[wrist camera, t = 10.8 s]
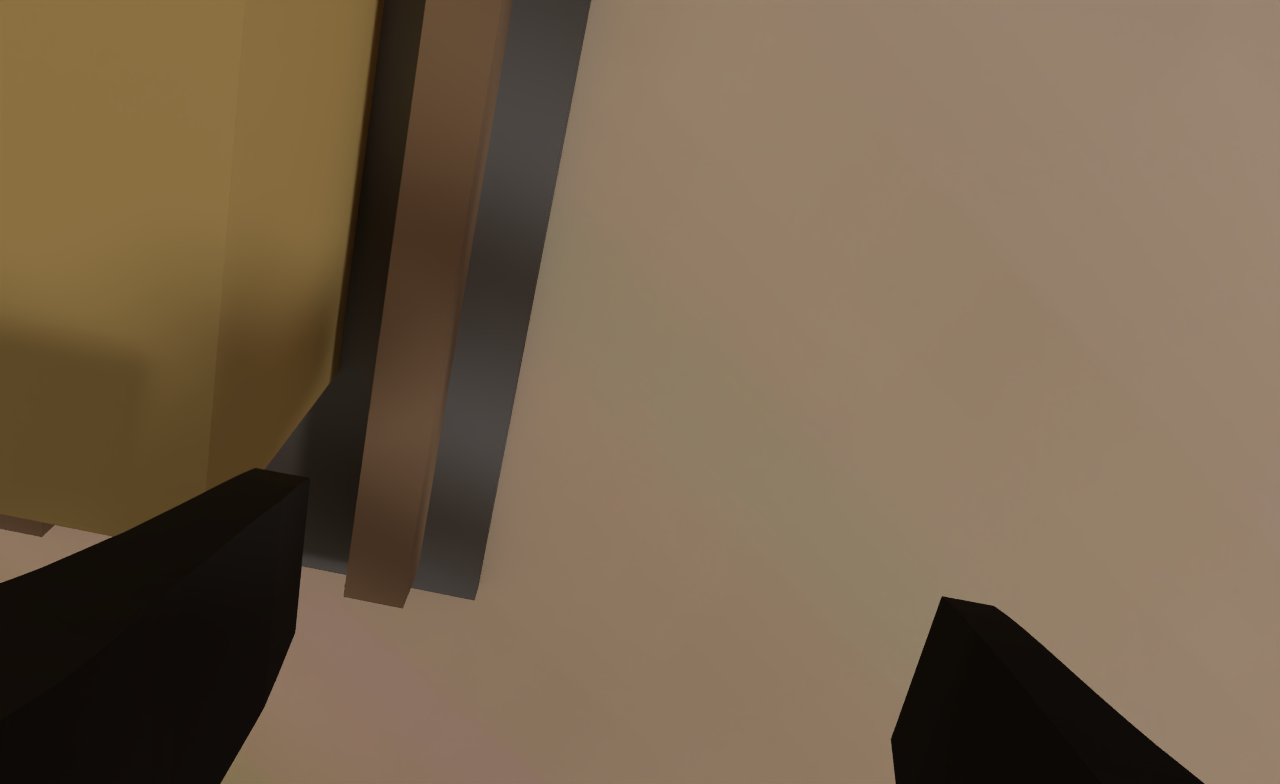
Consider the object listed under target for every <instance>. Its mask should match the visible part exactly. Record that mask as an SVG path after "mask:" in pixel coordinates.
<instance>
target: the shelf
mask: <svg viewBox="0 0 1280 784" xmlns="http://www.w3.org/2000/svg"><path fill="white" fill-rule="evenodd" d="M590 3H591V0H385V1H384V9H383V17H382V25H381V33H380V41H379V49H378V57H377V65H376V73H375V81H374V89H373V97H372V105H371V113H370V121H369V128H368V136H367V144H366V152H365V160H364V168H363V176H362V184H361V192H360V200H359V208H358V216H357V224H356V232H355V240H354V248H353V256H352V264H351V272H350V280H349V288H348V296H347V304H346V311H345V319H344V327H343V335H342V343H341V351H340V359H339V367H338V373H337V374H336V375H335V377H334V378H333V379H332V381H331V382H330V383H329V385H328V386H327V387H326V389H325V390H324V391H323V393H322V394H321V395H320V397H319V398H318V399H317V401H316V402H315V403H314V405H313V406H312V407H311V408H310V410H309V411H308V412H307V414H306V415H305V416H304V418H303V419H302V420H301V422H300V423H299V424H298V426H297V427H296V428H295V430H294V431H293V432H292V434H291V435H290V436H289V438H288V439H287V440H286V442H285V443H284V444H283V446H282V447H281V448H280V450H279V451H278V452H277V454H276V455H275V456H274V458H273V459H272V460H271V462H270V463H269V464H268V466H267V467H266V468H265V470H270V471H275V472H280V473H286V474H291V475H296V476H302V477H307V478H310V486H309V496H308V506H307V517H306V527H305V537H304V547H303V557H302V566H304V567H309V568H314V569H319V570H324V571H329V572H334V573H339V574H344V575H347V576H346V583H345V590H344V597H348V598H353V599H358V600H363V601H368V602H373V603H378V604H383V605H388V606H393V607H398V608H403V606H404V604H405V601H406V599H407V596H408V594H409V591H410V589H411V588H415V589H420V590H425V591H430V592H435V593H440V594H445V595H450V596H455V597H460V598H465V599H470V600H475V596H476V593H477V590H478V585H479V580H480V575H481V570H482V564H483V559H484V554H485V549H486V544H487V538H488V533H489V528H490V523H491V518H492V512H493V507H494V502H495V497H496V492H497V486H498V481H499V476H500V471H501V466H502V460H503V455H504V450H505V445H506V440H507V434H508V429H509V424H510V419H511V414H512V408H513V403H514V398H515V393H516V388H517V382H518V377H519V372H520V367H521V362H522V357H523V351H524V346H525V341H526V336H527V331H528V325H529V320H530V315H531V310H532V305H533V299H534V294H535V289H536V284H537V279H538V273H539V268H540V263H541V258H542V253H543V247H544V242H545V237H546V232H547V227H548V221H549V216H550V211H551V206H552V201H553V195H554V190H555V185H556V180H557V175H558V169H559V164H560V159H561V154H562V149H563V143H564V138H565V133H566V128H567V123H568V117H569V112H570V107H571V102H572V97H573V91H574V86H575V81H576V76H577V71H578V65H579V60H580V55H581V50H582V45H583V39H584V34H585V29H586V24H587V19H588V13H589V8H590ZM53 526H54V525H53V524H48V523H43V522H38V521H33V520H28V519H23V518H18V517H13V516H8V515H3V514H0V529H4V530H9V531H14V532H19V533H24V534H29V535H34V536H39V537H42V536H44V535H45V534H46V533H47V532H48V531H49V530H50V529H51V528H52V527H53Z"/></svg>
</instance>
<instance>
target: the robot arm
mask: <svg viewBox="0 0 1280 784" xmlns="http://www.w3.org/2000/svg"><path fill="white" fill-rule="evenodd" d="M309 486H310V478H307V477H302V476H296V475H291V474H286V473H280V472H275V471H270V470H264V469H259V468H254V469H251V470H249V471H246V472H244V473H242V474H240V475H238V476H235V477H233V478H231V479H229V480H227V481H225V482H223V483H221V484H219V485H217V486H215V487H213V488H211V489H209V490H207V491H206V492H204V493H202V494H200V495H198V496H196V497H194V498H192V499H190V500H188V501H186V502H184V503H182V504H180V505H178V506H176V507H174V508H172V509H170V510H168V511H166V512H164V513H162V514H160V515H158V516H156V517H154V518H152V519H150V520H148V521H146V522H144V523H141V524H139V525H137V526H135V527H133V528H131V529H129V530H127V531H125V532H123V533H121V534H118V535H116V536H114V537H112V538H109V539H107V540H105V541H102V542H100V543H98V544H95V545H93V546H91V547H88V548H86V549H84V550H82V551H79V552H77V553H75V554H72V555H70V556H68V557H65V558H63V559H61V560H59V561H56V562H54V563H52V564H49V565H47V566H45V567H42V568H40V569H37V570H34V571H32V572H29V573H27V574H24V575H21V576H19V577H16V578H13V579H11V580H8V581H5V582H2V583H0V784H220V783H221V782H222V780H223V778H224V776H225V775H226V773H227V771H228V770H229V768H230V766H231V764H232V763H233V761H234V759H235V758H236V756H237V754H238V752H239V751H240V749H241V747H242V745H243V744H244V742H245V740H246V739H247V737H248V735H249V733H250V732H251V730H252V728H253V726H254V725H255V723H256V721H257V719H258V718H259V716H260V714H261V712H262V710H263V709H264V707H265V704H266V702H267V700H268V697H269V695H270V693H271V690H272V688H273V685H274V683H275V681H276V678H277V676H278V674H279V671H280V669H281V666H282V664H283V661H284V659H285V656H286V654H287V651H288V649H289V647H290V644H291V642H292V639H293V637H294V634H295V629H296V619H297V609H298V598H299V588H300V578H301V568H302V557H303V547H304V537H305V527H306V517H307V506H308V496H309ZM891 744H892V753H893V762H894V771H895V780H896V784H1204V783H1203V782H1202V781H1201V780H1199V779H1198V778H1197V777H1196V776H1194V775H1193V774H1192V773H1191V772H1189V771H1188V770H1187V769H1186V768H1184V767H1183V766H1182V765H1181V764H1179V763H1178V762H1177V761H1176V760H1174V759H1173V758H1172V757H1171V756H1169V755H1168V754H1167V753H1166V752H1164V751H1163V750H1162V749H1161V748H1159V747H1158V746H1157V745H1156V744H1154V743H1153V742H1152V741H1151V740H1150V739H1149V738H1147V737H1146V736H1145V735H1144V734H1143V733H1141V732H1140V731H1139V730H1138V729H1137V728H1135V727H1134V726H1133V725H1132V724H1131V723H1130V722H1128V721H1127V720H1126V719H1125V718H1124V717H1123V716H1122V715H1120V714H1119V713H1118V712H1117V711H1116V710H1115V709H1113V708H1112V707H1111V706H1110V705H1109V704H1108V703H1107V702H1106V701H1104V700H1103V699H1102V698H1101V697H1100V696H1099V695H1098V694H1096V693H1095V692H1094V691H1093V690H1092V689H1091V688H1090V687H1089V686H1087V685H1086V684H1085V683H1084V682H1083V681H1082V680H1081V679H1080V678H1079V677H1077V676H1076V675H1075V674H1074V673H1073V672H1072V671H1071V670H1070V669H1068V668H1067V667H1066V666H1065V665H1064V664H1063V663H1062V662H1061V661H1060V660H1058V659H1057V658H1056V657H1055V656H1054V655H1053V654H1052V653H1051V652H1050V651H1048V650H1047V649H1046V648H1045V647H1044V646H1043V645H1042V644H1041V643H1039V642H1038V641H1037V640H1036V639H1035V638H1034V637H1032V636H1031V635H1030V634H1029V633H1028V632H1027V631H1026V630H1024V629H1023V628H1022V627H1021V626H1020V625H1018V624H1017V623H1016V622H1015V621H1013V620H1012V619H1011V618H1010V617H1008V616H1007V615H1006V614H1004V613H1003V612H1002V611H1000V610H999V609H997V608H996V607H995V606H991V605H986V604H980V603H975V602H970V601H964V600H959V599H954V598H948V597H943V596H942V598H941V600H940V603H939V606H938V609H937V612H936V614H935V617H934V620H933V623H932V626H931V628H930V631H929V634H928V637H927V640H926V642H925V645H924V648H923V651H922V654H921V656H920V659H919V662H918V665H917V668H916V670H915V673H914V676H913V679H912V682H911V684H910V687H909V690H908V693H907V696H906V698H905V701H904V704H903V707H902V710H901V712H900V715H899V718H898V721H897V724H896V726H895V729H894V732H893V735H892V738H891Z"/></svg>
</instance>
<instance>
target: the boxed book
mask: <svg viewBox="0 0 1280 784" xmlns="http://www.w3.org/2000/svg"><path fill="white" fill-rule="evenodd" d="M384 1H385V0H0V514H3V515H8V516H13V517H18V518H23V519H28V520H33V521H38V522H43V523H48V524H53V525H58V526H63V527H68V528H73V529H78V530H83V531H88V532H93V533H98V534H103V535H108V536H113V537H114V536H116V535H118V534H121V533H123V532H125V531H127V530H129V529H131V528H133V527H135V526H137V525H139V524H141V523H144V522H146V521H148V520H150V519H152V518H154V517H156V516H158V515H160V514H162V513H164V512H166V511H168V510H170V509H172V508H174V507H176V506H178V505H180V504H182V503H184V502H186V501H188V500H190V499H192V498H194V497H196V496H198V495H200V494H202V493H204V492H206V491H207V490H209V489H211V488H213V487H215V486H217V485H219V484H221V483H223V482H225V481H227V480H229V479H231V478H233V477H235V476H238V475H240V474H242V473H244V472H246V471H249V470H251V469H254V468H259V469H264V470H265V468H266V467H267V466H268V464H269V463H270V462H271V460H272V459H273V458H274V456H275V455H276V454H277V452H278V451H279V450H280V448H281V447H282V446H283V444H284V443H285V442H286V440H287V439H288V438H289V436H290V435H291V434H292V432H293V431H294V430H295V428H296V427H297V426H298V424H299V423H300V422H301V420H302V419H303V418H304V416H305V415H306V414H307V412H308V411H309V410H310V408H311V407H312V406H313V405H314V403H315V402H316V401H317V399H318V398H319V397H320V395H321V394H322V393H323V391H324V390H325V389H326V387H327V386H328V385H329V383H330V382H331V381H332V379H333V378H334V377H335V375H336V374H337V373H338V367H339V359H340V351H341V343H342V335H343V327H344V319H345V311H346V304H347V296H348V288H349V280H350V272H351V264H352V256H353V248H354V240H355V232H356V224H357V216H358V208H359V200H360V192H361V184H362V176H363V168H364V160H365V152H366V144H367V136H368V128H369V121H370V113H371V105H372V97H373V89H374V81H375V73H376V65H377V57H378V49H379V41H380V33H381V25H382V17H383V9H384Z"/></svg>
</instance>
